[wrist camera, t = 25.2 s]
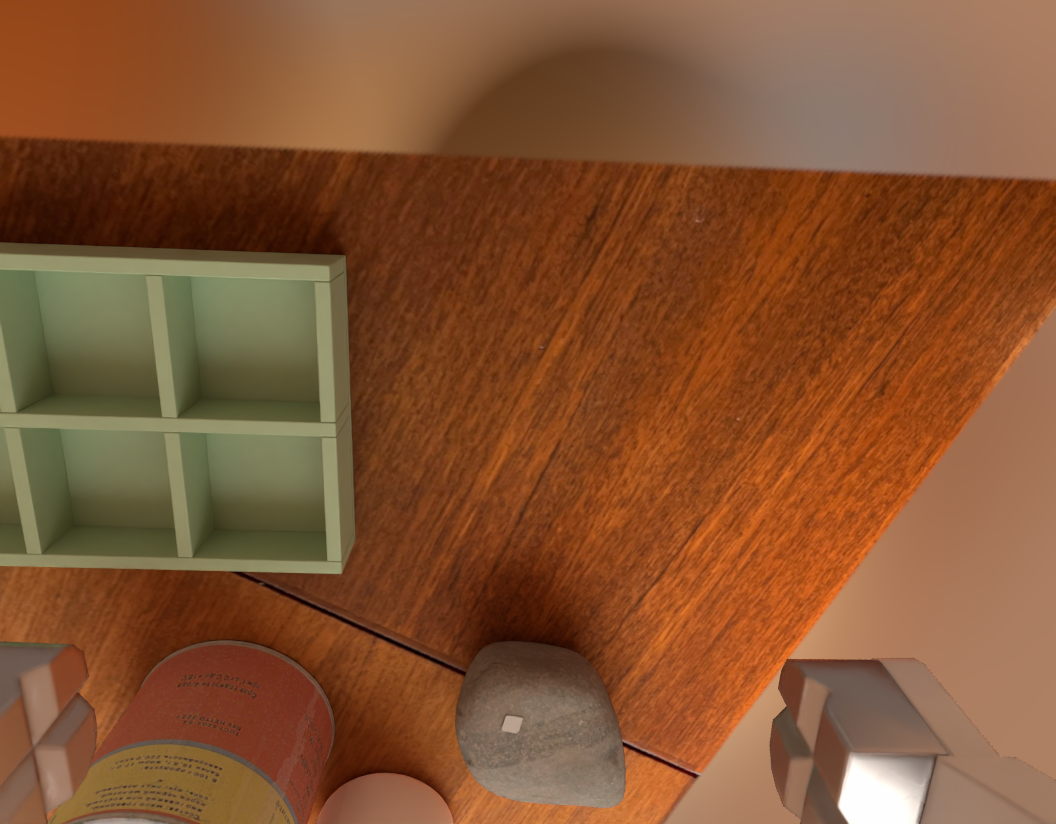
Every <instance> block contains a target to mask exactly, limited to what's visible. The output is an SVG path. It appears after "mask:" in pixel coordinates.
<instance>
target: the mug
mask: <svg viewBox="0 0 1056 824" xmlns="http://www.w3.org/2000/svg"><path fill="white" fill-rule="evenodd" d="M316 824H454V823H453V818H452V815H451V812H450V810H449V808H448V806H447V804H446V803H445V801H444V800H443V798H442V797H441V796H440V795H439V794H438V793H437V792H436V791H435V790H434V789H432V788H431V787H430V786H428V785H427V784H425V783H423V782H421V781H419V780H417V779H415V778H412V777H410V776H406V775H402V774H396V773H375V774H369V775H365V776H361V777H358V778H355V779H353V780H351V781H349V782H347V783H345V784H344V785H342V786H341V787H340V788H338V789H337V790H336V791H335V792H334V793H333V794H332V795H331V796H330V797H329V798H328V800H327V801H326V802H325V804H324V806H323V808H322V810H321V812H320V814H319V817H318V819H317V822H316Z"/></svg>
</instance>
